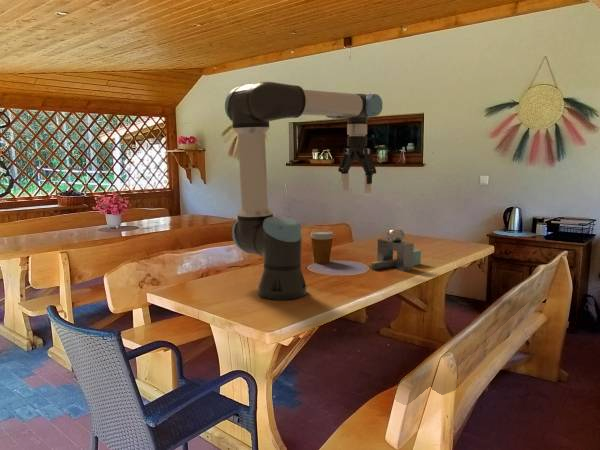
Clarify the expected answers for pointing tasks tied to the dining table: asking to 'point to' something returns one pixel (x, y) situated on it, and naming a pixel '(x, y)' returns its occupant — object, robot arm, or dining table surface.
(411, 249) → the housing
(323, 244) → the disposable coffee cup
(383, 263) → the mallet
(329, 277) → the dining table surface
